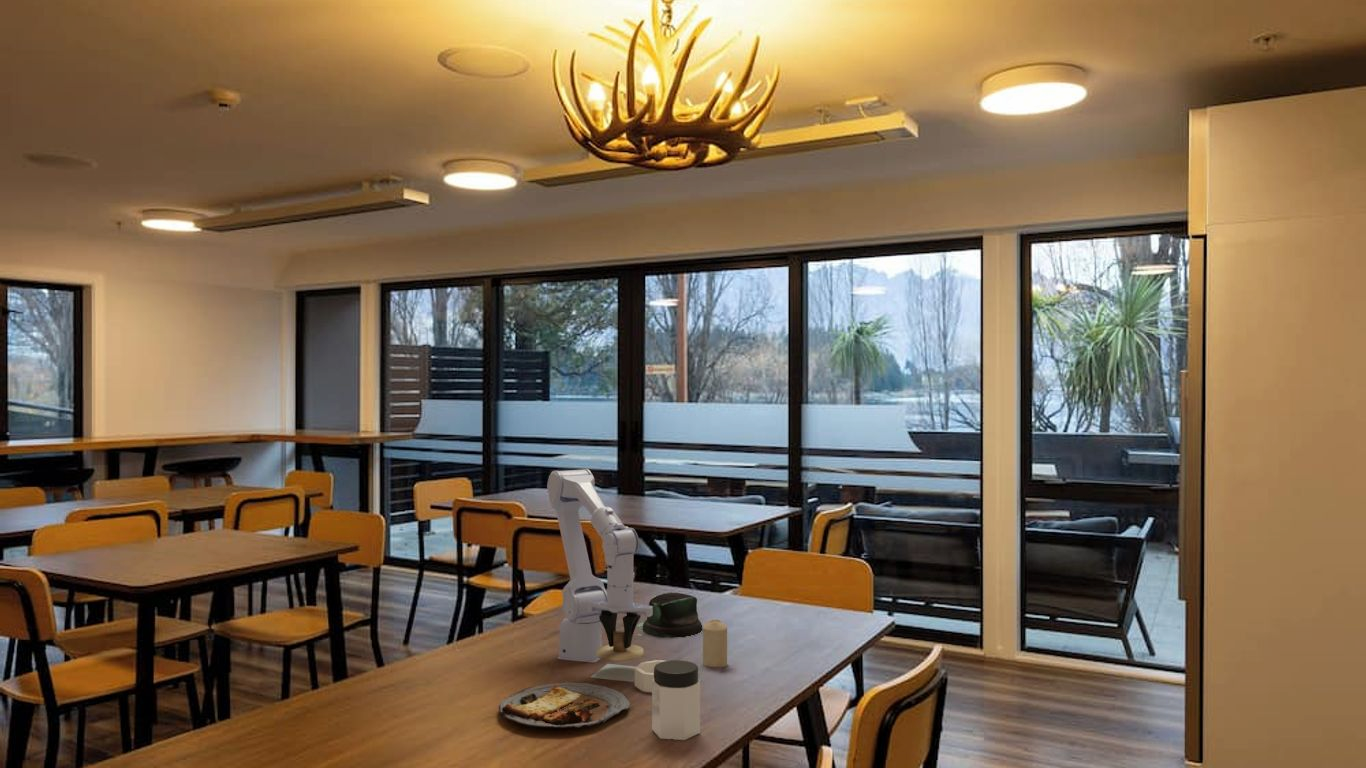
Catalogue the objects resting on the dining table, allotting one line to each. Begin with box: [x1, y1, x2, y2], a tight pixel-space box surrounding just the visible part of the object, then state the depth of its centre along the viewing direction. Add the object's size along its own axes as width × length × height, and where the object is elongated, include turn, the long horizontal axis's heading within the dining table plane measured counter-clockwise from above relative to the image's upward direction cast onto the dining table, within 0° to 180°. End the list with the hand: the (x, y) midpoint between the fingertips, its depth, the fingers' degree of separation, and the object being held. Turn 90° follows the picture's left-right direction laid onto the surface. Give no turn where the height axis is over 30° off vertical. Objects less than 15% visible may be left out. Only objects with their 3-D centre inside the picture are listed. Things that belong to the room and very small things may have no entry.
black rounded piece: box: [636, 591, 703, 639], centre depth 240 cm, size 20×20×9 cm
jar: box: [651, 659, 701, 741], centre depth 170 cm, size 9×8×12 cm
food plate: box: [498, 682, 631, 730], centre depth 180 cm, size 25×23×4 cm
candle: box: [702, 619, 728, 668], centre depth 210 cm, size 6×6×10 cm
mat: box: [590, 663, 636, 683], centre depth 203 cm, size 10×10×1 cm
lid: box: [596, 629, 645, 662], centre depth 203 cm, size 10×10×5 cm
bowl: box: [634, 659, 666, 693], centre depth 195 cm, size 10×10×4 cm
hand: (619, 646), depth 204 cm, fingers closed on lid, 3 cm apart
